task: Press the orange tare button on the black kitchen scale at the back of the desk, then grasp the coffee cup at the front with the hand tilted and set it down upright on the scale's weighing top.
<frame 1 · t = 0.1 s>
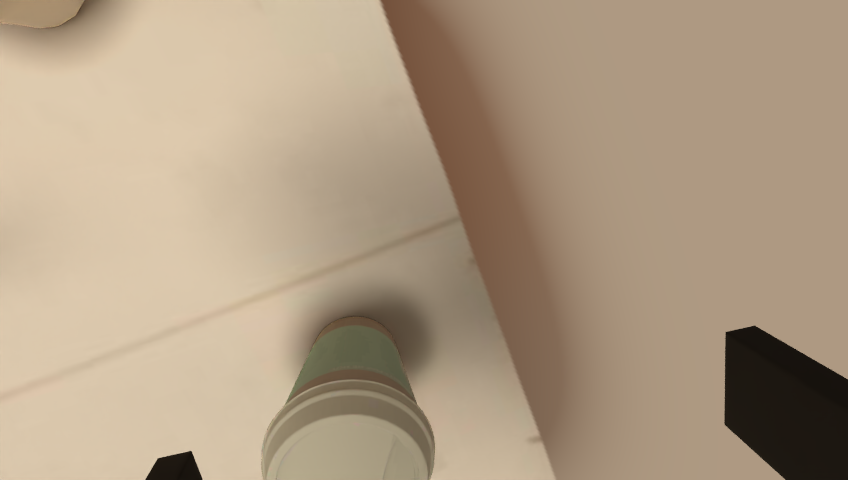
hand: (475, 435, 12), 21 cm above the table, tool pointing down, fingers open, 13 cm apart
coffee cup: (355, 352, 34), on the table
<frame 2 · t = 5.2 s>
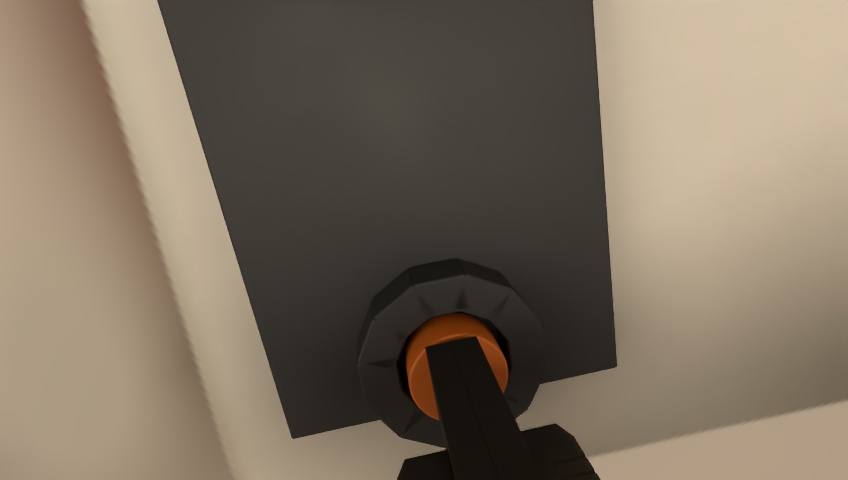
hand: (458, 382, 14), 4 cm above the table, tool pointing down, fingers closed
scale: (409, 149, 16), on the table
tare button: (455, 366, 15), point 3 cm above the table, slide at -0.3 cm, touching gripper
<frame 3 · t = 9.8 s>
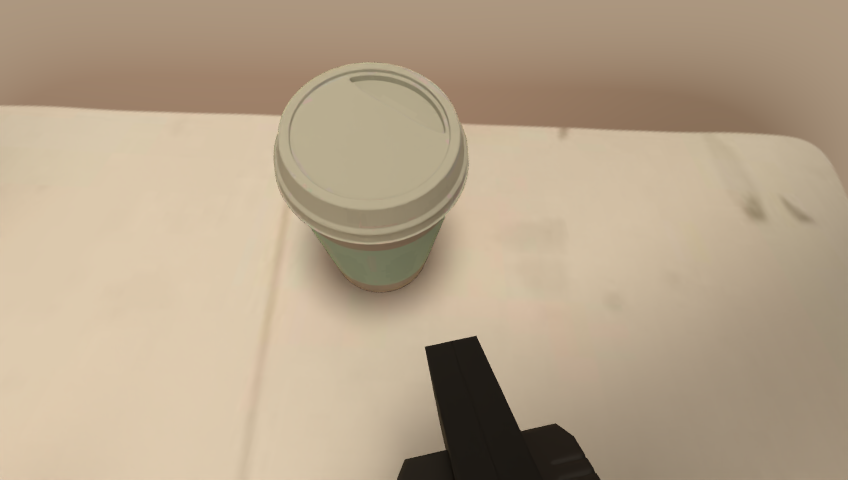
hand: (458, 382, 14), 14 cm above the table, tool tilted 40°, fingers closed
coffee cup: (381, 250, 31), on the table
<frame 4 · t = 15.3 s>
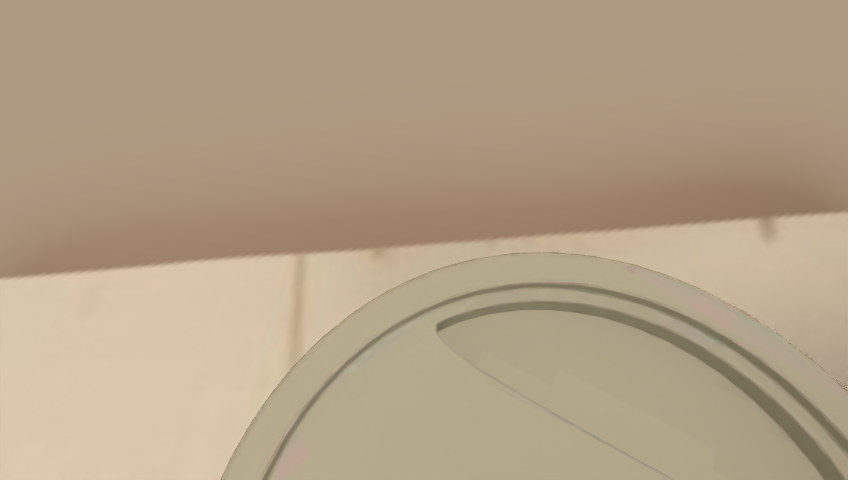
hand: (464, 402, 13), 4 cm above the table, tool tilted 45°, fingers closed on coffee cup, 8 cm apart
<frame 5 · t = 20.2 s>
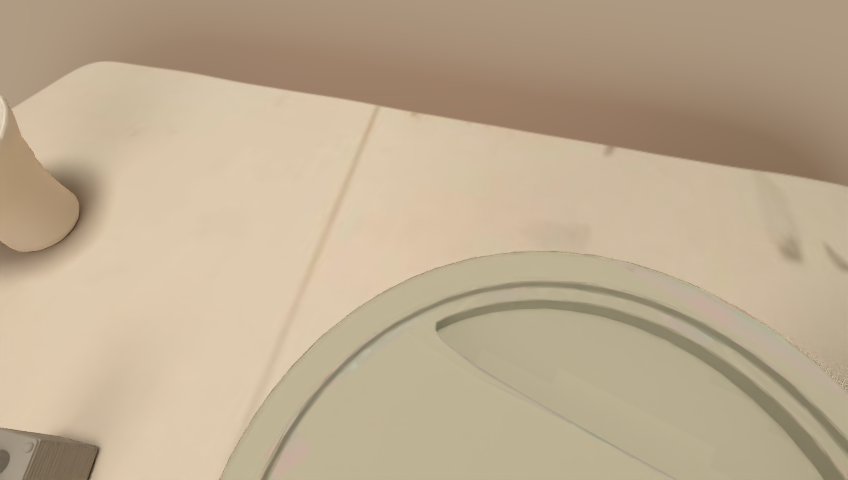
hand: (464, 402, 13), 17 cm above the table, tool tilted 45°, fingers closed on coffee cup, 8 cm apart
cup: (49, 225, 36), on the table
when the fingers open (5 cm above the table, at t = 25.4 s): coffee cup stays where it is, resting on scale.
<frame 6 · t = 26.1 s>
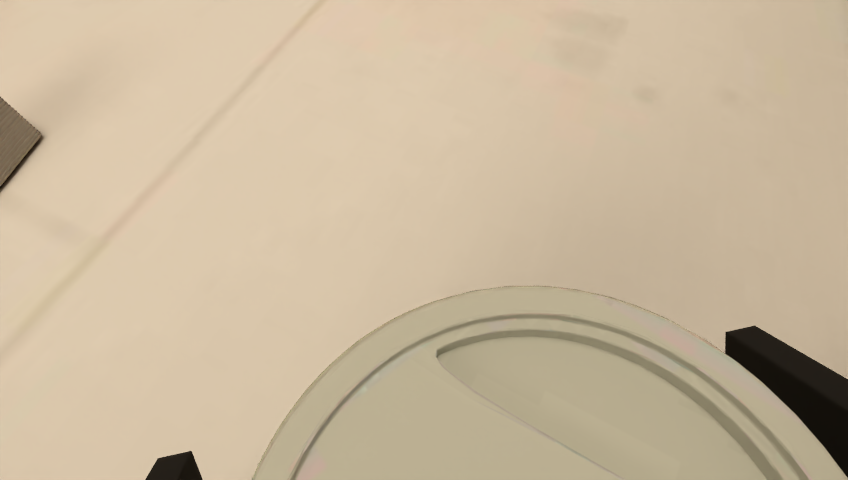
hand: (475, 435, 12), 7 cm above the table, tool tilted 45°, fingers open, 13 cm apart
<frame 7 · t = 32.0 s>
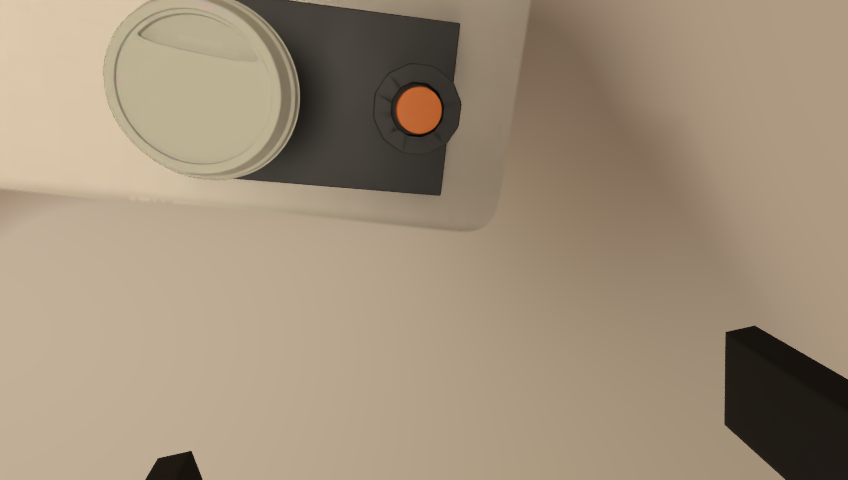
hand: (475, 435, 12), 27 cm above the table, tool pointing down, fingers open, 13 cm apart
scale: (323, 99, 34), on the table
coffee cup: (256, 93, 33), point 1 cm above the table, touching scale
tare button: (418, 110, 32), point 3 cm above the table, slide at 0.1 cm
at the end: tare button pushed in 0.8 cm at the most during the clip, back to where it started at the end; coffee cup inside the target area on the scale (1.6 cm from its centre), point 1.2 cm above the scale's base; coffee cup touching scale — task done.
